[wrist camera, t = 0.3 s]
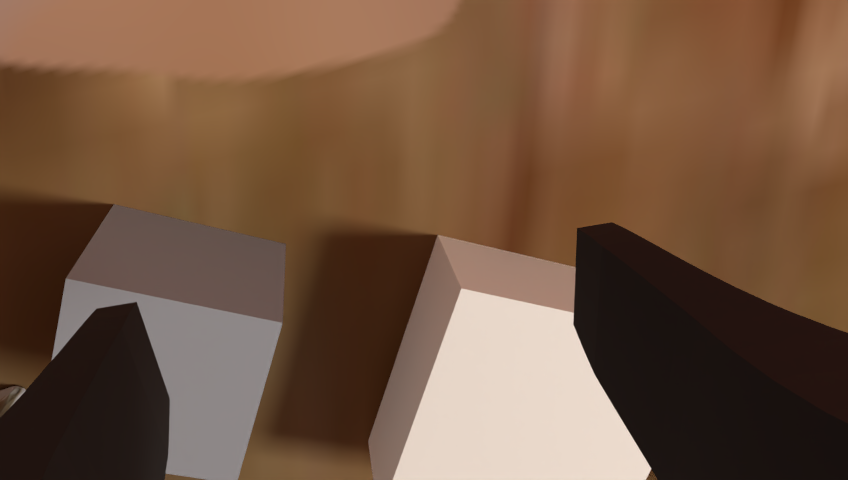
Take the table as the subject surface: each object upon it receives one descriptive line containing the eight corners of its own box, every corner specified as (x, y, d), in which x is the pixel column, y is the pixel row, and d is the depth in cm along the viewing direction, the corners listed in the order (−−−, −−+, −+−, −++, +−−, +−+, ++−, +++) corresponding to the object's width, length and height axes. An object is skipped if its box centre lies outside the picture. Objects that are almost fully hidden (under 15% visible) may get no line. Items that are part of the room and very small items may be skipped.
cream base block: (571, 468, 29) (610, 549, 25) (367, 436, 26) (378, 518, 23) (655, 283, 26) (714, 343, 22) (436, 231, 24) (461, 288, 20)
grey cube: (247, 379, 25) (236, 483, 20) (86, 349, 23) (35, 454, 19) (285, 242, 23) (282, 323, 18) (114, 203, 22) (65, 278, 17)
